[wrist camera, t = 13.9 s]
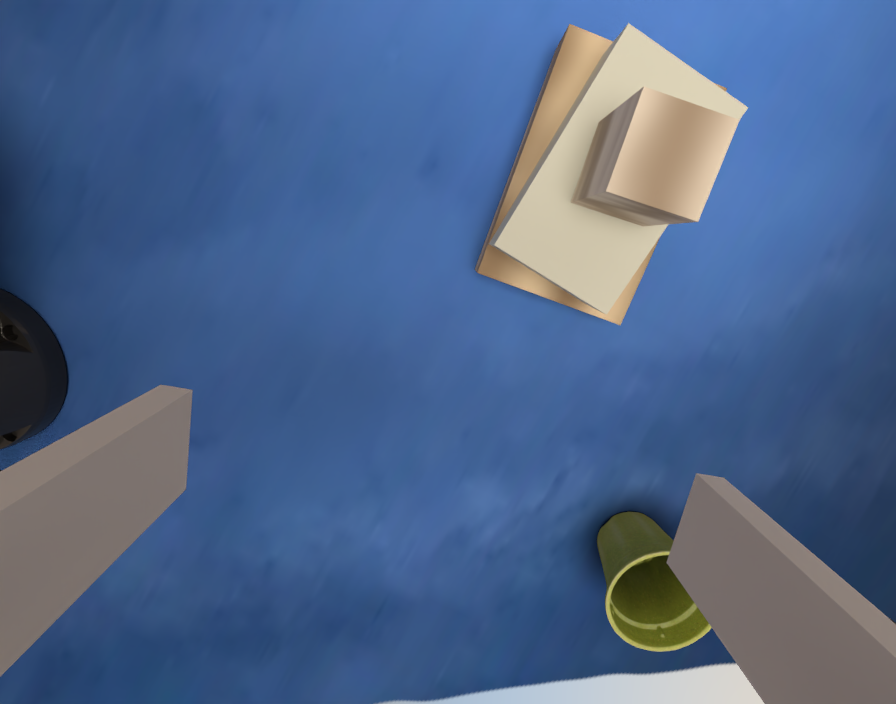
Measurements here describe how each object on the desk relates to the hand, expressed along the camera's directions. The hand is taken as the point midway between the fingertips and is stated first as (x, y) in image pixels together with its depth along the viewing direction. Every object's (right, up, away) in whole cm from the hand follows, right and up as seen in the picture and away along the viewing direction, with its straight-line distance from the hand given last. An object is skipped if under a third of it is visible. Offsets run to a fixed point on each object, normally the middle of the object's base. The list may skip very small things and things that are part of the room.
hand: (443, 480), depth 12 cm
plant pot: (+18, -15, +35) cm, 42 cm away
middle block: (+11, +16, +23) cm, 30 cm away
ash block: (+11, +15, +18) cm, 26 cm away
